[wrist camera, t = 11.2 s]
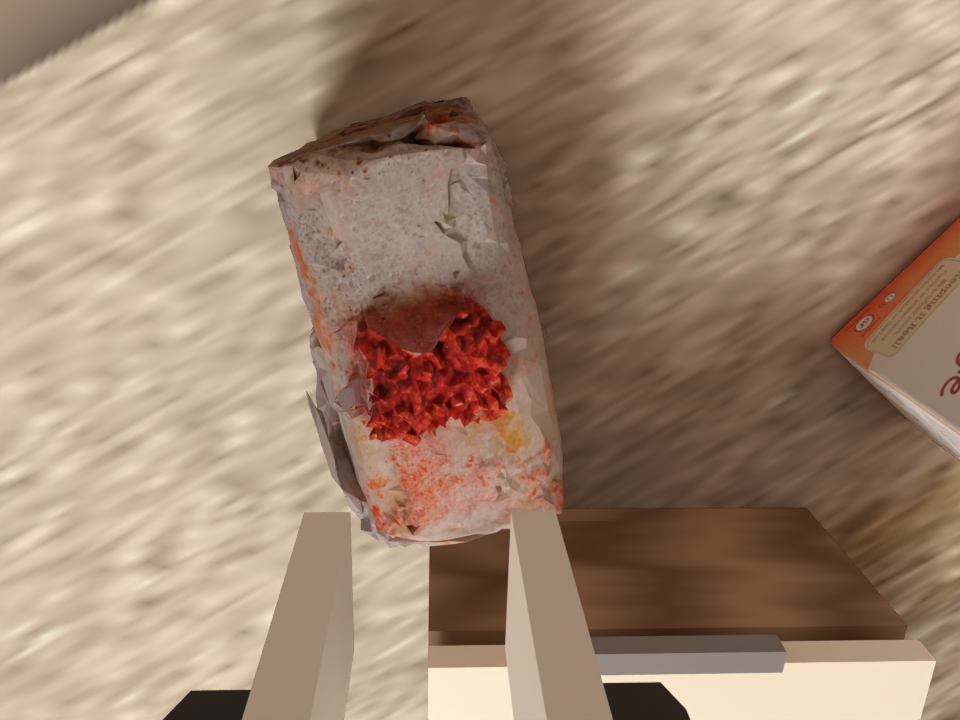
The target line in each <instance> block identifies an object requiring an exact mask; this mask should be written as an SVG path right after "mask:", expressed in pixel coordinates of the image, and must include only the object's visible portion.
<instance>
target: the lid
mask: <svg viewBox="0 0 960 720" xmlns="http://www.w3.org/2000/svg"><path fill="white" fill-rule="evenodd" d="M590 638H591V642H592V645H593V649H594V653H595V656H596V660H597V664H598V667H599V671H600V674H601V678H602V682H603V683H629V682H661V683H662V684H663V685H664V686H665V687H666V688H667V689H668V691H669V692H670V693H671V694H672V695H673V696H674V697H675V698H676V699H677V700H678V701H679V702H680V703H681V704H682V705H683V706H684V707H685V708H686V710H687V712H688V715H689V717H690V720H920V718H921V714H922V711H923V707H924V703H925V700H926V696H927V692H928V689H929V685H930V681H931V678H932V674H933V670H934V667H935V663H936V660H935V659H934V658H933V656H932V655H931V654H930V653H929V651H928V650H927V649H926V648H925V646H924V645H923V644H922V643H921V642H920V640H847V641H780V639H779V638H778V636H777V635H699V636H618V637H590ZM428 720H514V717H513V709H512V701H511V692H510V684H509V676H508V668H507V659H506V651H505V645H459V646H428Z"/></svg>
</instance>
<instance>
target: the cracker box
mask: <svg viewBox="0 0 960 720" xmlns="http://www.w3.org/2000/svg"><path fill="white" fill-rule="evenodd" d="M830 342H831V345H832V346H833V347H834V348H835V349H837V350H838V351H839V352H840V353H841V354H842V355H843V356H844V357H845V358H846V359H847V360H848V361H849V362H850V363H851V364H852V365H853V366H854V367H855V368H856V369H857V370H858V371H859V372H860V373H861V374H862V375H863V376H864V377H865V378H866V379H867V380H868V381H869V382H870V383H871V384H872V385H873V386H874V387H875V388H876V389H877V390H878V391H879V392H880V393H881V394H882V395H883V396H884V397H885V398H886V399H887V400H888V401H889V402H890V403H891V404H892V405H893V406H894V407H895V408H896V409H897V410H899V411H900V412H901V413H902V414H903V415H904V416H905V417H906V418H907V419H908V420H909V421H910V422H911V423H912V424H913V425H914V426H915V427H916V428H918V429H919V430H920V431H921V432H923V433H924V434H925V435H927V436H928V437H929V438H930V439H932V440H933V441H934V442H936V443H937V444H938V445H939V446H941V447H942V448H943V449H945V450H946V451H948V452H949V453H950V454H952V455H953V456H954V457H956V458H957V459H958V460H960V217H959V218H958V219H957V220H956V221H955V222H954V223H953V224H952V225H951V226H950V227H949V228H948V229H947V230H946V231H945V232H944V233H943V234H941V235H940V236H939V237H938V238H937V239H936V240H935V241H934V242H933V243H932V244H931V245H930V246H929V247H928V248H927V249H926V250H925V251H923V252H922V253H921V254H920V255H919V256H918V257H917V258H916V259H915V260H914V261H913V262H912V263H911V264H910V265H909V266H908V267H907V268H906V269H904V270H903V271H902V272H901V273H900V274H899V275H898V276H897V277H896V278H895V279H894V280H893V281H892V282H891V283H890V284H889V285H888V286H886V287H885V288H884V289H883V290H882V291H881V292H880V293H879V294H878V295H877V296H876V297H875V298H874V299H873V300H872V301H871V302H869V303H868V304H867V305H866V306H865V307H864V308H863V309H862V310H861V311H860V312H859V313H858V314H857V315H856V316H855V317H854V318H853V319H852V320H851V321H849V322H848V323H847V324H846V325H845V326H844V327H843V328H842V329H841V330H840V331H839V332H838V333H837V334H836V335H835V336H834V337H833V338H832V339H831V340H830Z"/></svg>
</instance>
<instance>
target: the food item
mask: <svg viewBox="0 0 960 720" xmlns="http://www.w3.org/2000/svg"><path fill="white" fill-rule="evenodd" d="M268 168H269V172H270V176H271V186H272V188H273V189H274V190H276V191H277V195H278V201H279V206H280V209H281V212H282V216H283V220H284V222H285V225H286V228H287V231H288V234H289V239H290V249H291V252H292V254H293V257H294V260H295V263H296V268H297V274H298V278H299V282H300V286H301V293H302V297H303V299H304V302H305V304H306V306H307V309H308V311H309V313H310V317H311V321H312V325H313V328H312V333H311V335H310V349H311V354H312V358H313V364H314V366H315V368H316V370H317V387H316V400H317V408H316V407H315V405H314V403H313V401H312V400H311V398H310V396H309V394H308V393H307V403H308V405H309V408H310V411H311V413H312V416H313V419H314V421H315V424H316V427H317V430H318V434H319V438H320V441H321V445H322V448H323V451H324V454H325V456H326V458H327V462H328V465H329V468H330V472H331V475H332V477H333V478H334V480H335V481H336V482H337V483H338V485H339V486H340V487H341V488H342V490H343V492H344V495H345V497H346V500H347V502H348V505H349V507H350V508H351V509H352V510H353V512H355V513H356V514H357V515H358V517H359V518H360V519H361V530H362V531H364V532H366V533H368V534H369V535H370V536H372V537H373V538H375V539H377V540H378V541H380V540H385V542H386V543H387V544H388V546H389V547H390V548H392V547H395V546H399V545H400V546H404V547H406V546H408V545H411V544H414V543H415V544H418V545H422V546H425V547H429V546H439V545H449V544H457V543H463V542H469V541H472V540H474V539H477V538H480V537H482V536H485V535H487V534H491V533H496V532H499V531H503V530H507V529H510V525H511V512H556V515H557V516H558V515H560V514H561V513H562V506H563V497H564V494H563V479H562V471H563V457H562V446H561V436H560V430H559V424H558V418H557V412H556V405H555V399H554V393H553V389H552V384H551V380H550V374H549V368H548V364H547V359H546V353H545V347H544V341H545V339H544V338H543V335H545V336H547V337H548V335H547V329H546V327H544V326H541V325H540V321H539V317H538V312H537V306H536V302H535V299H534V297H533V295H532V292H531V289H530V284H529V280H528V276H527V272H526V268H525V264H524V259H523V254H522V250H521V245H520V241H519V238H518V236H517V234H516V232H515V230H514V221H513V216H512V211H511V207H510V206H514V205H516V204H515V203H514V202H513V199H512V194H511V190H510V185H509V181H508V179H507V178H506V176H505V175H504V174H505V172H506V170H507V169H508V167H507V165H506V163H505V162H504V160H503V158H502V157H501V155H500V154H499V152H498V149H497V146H496V144H495V142H494V140H493V138H492V136H491V134H490V132H489V130H488V128H487V126H486V125H485V123H484V122H483V121H482V120H481V119H480V118H479V117H478V116H477V115H476V114H475V112H474V111H473V108H472V106H471V103H470V100H469V99H467V98H466V97H461V98H455V99H452V100H442V101H438V102H433V103H428V102H426V101H423V102H421V103H418V104H415V105H413V106H411V107H408V108H406V109H403V110H401V111H399V112H397V113H395V114H392V115H389V116H386V117H382V118H378V119H372V120H369V121H364V122H360V123H355V124H352V125H350V126H348V127H347V128H343V129H339V130H335V131H332V132H330V133H329V134H327V135H326V136H324V137H323V138H321V139H318V140H316V141H312V142H309V143H306V144H305V145H304V146H303V147H302V148H300V149H298V150H296V151H294V152H291V153H289V154H287V155H284V156H282V157H280V158H278V159H276V160H274V161H273V162H272V163H271V164H270V165H269V166H268ZM306 392H307V391H306Z"/></svg>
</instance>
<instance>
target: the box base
mask: <svg viewBox="0 0 960 720" xmlns="http://www.w3.org/2000/svg"><path fill="white" fill-rule="evenodd" d="M557 518H558V522H559V526H560V529H561V533H562V536H563V540H564V544H565V547H566V551H567V555H568V558H569V562H570V566H571V569H572V573H573V576H574V580H575V584H576V587H577V591H578V595H579V598H580V602H581V605H582V609H583V613H584V616H585V620H586V624H587V627H588V631H589V635H590V637H618V636H699V635H777V636H778V638H779V639H780V641H847V640H904V636H905V632H906V628H907V625H906V624H905V623H904V621H903V620H902V619H901V618H900V617H899V616H898V614H897V613H896V612H895V611H894V610H893V609H892V607H891V606H890V605H889V604H888V603H887V602H886V600H885V599H884V598H883V597H882V596H881V595H880V593H879V592H878V591H877V590H876V589H875V588H874V586H873V585H872V584H871V583H870V582H869V581H868V579H867V578H866V577H865V576H864V575H863V574H862V572H861V571H860V570H859V569H858V568H857V567H856V565H855V564H854V563H853V562H852V561H851V560H850V558H849V557H848V556H847V555H846V554H845V553H844V551H843V550H842V549H841V548H840V547H839V546H838V544H837V543H836V542H835V541H834V540H833V539H832V537H831V536H830V535H829V534H828V533H827V532H826V530H825V529H824V528H823V527H822V526H821V525H820V523H819V522H818V521H817V520H816V519H815V518H814V516H813V515H812V514H811V513H810V512H809V511H808V509H807V508H676V509H562V513H561V514H560V515H558V516H557ZM509 547H510V529H507V530H503V531H499V532H496V533H491V534H487V535H485V536H482V537H480V538H477V539H474V540H472V541H469V542H463V543H457V544H449V545H439V546H430V564H429V646H459V645H505V638H506V616H507V593H508V570H509Z"/></svg>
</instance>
